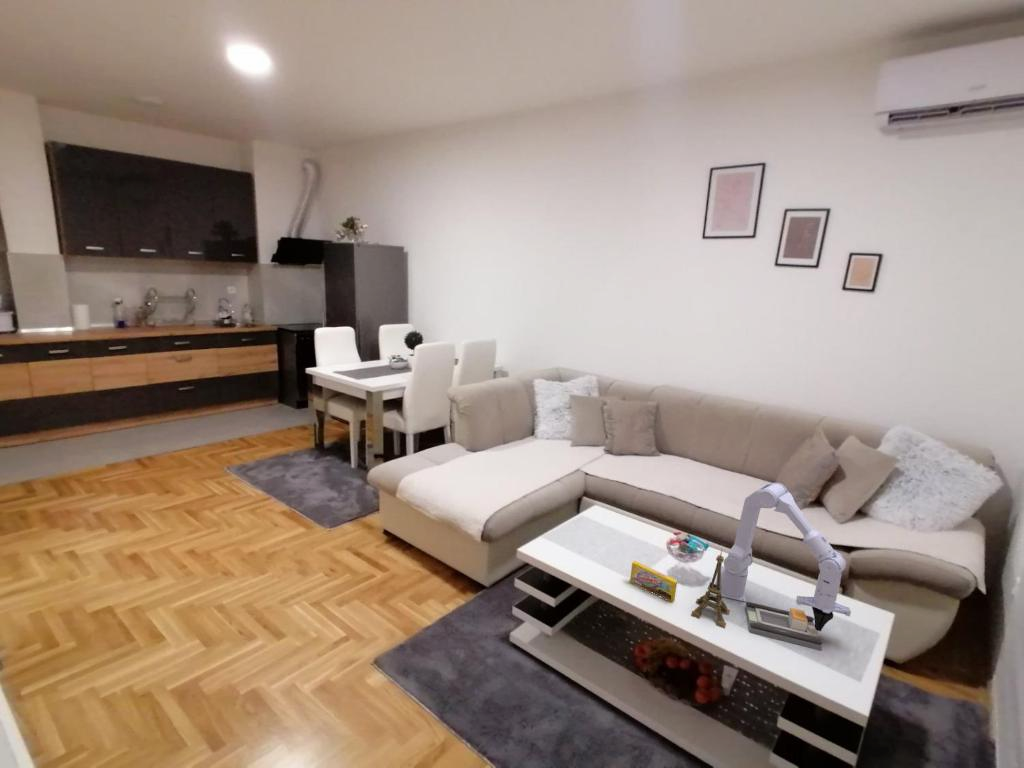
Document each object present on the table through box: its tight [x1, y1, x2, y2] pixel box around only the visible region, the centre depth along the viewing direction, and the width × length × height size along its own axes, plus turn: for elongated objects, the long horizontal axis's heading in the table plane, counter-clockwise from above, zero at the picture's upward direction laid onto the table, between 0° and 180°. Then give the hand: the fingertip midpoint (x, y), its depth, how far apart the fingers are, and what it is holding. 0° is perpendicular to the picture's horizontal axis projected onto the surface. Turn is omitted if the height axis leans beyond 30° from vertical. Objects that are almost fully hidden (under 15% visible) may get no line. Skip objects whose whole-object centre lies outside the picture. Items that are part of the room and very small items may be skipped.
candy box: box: [629, 560, 678, 603], centre depth 177 cm, size 16×2×8 cm, turn 49°
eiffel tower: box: [690, 549, 731, 629], centre depth 166 cm, size 11×11×25 cm
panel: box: [744, 601, 824, 651], centre depth 164 cm, size 20×13×3 cm, turn 72°
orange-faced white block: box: [788, 607, 808, 632], centre depth 162 cm, size 4×5×4 cm
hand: (817, 628), depth 160 cm, fingers closed
